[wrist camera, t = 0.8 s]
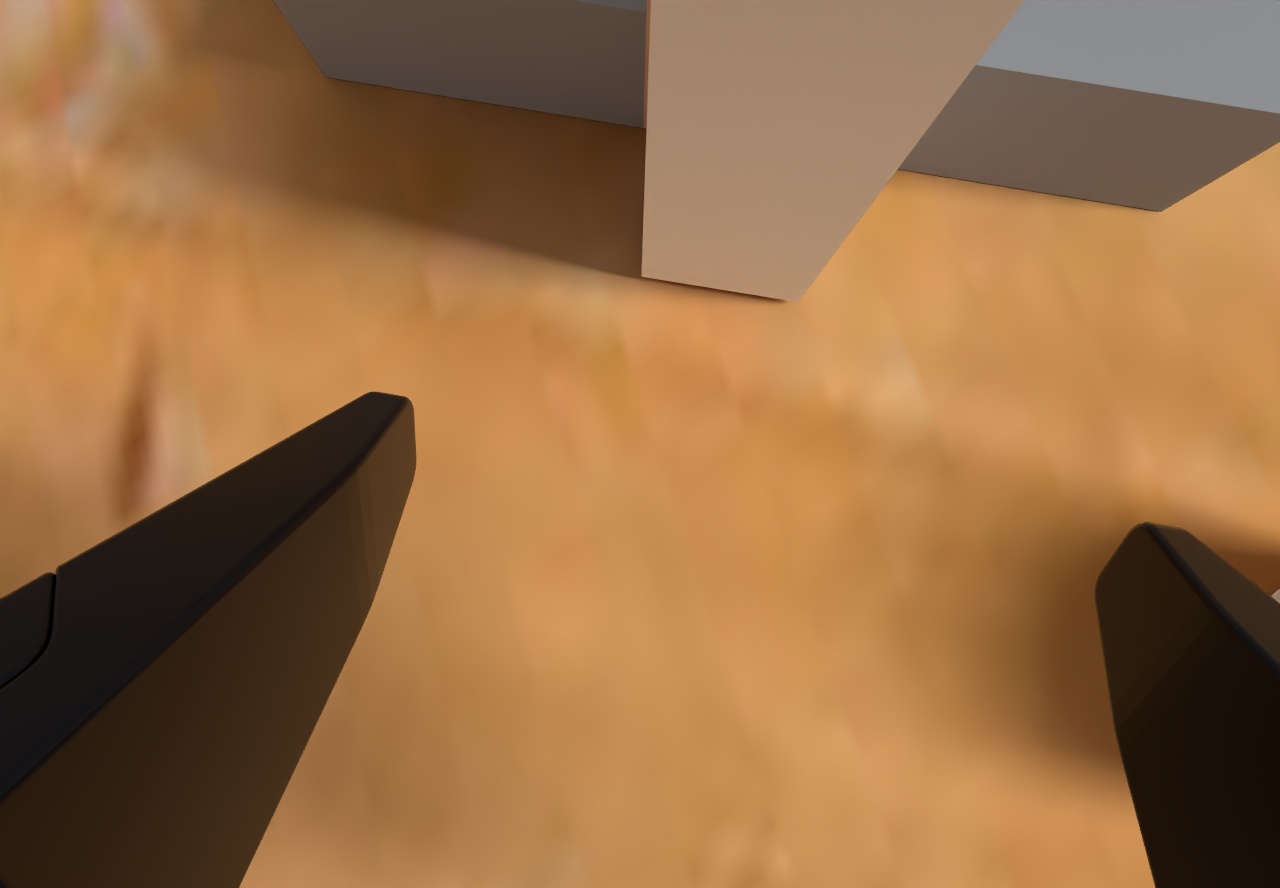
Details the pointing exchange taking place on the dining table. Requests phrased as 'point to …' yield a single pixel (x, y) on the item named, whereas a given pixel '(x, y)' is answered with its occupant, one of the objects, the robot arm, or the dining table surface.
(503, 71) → the grey blocks
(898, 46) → the peg block
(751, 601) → the dining table surface
